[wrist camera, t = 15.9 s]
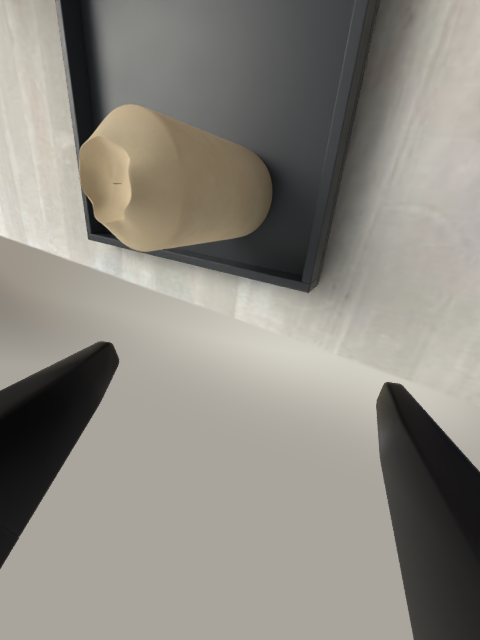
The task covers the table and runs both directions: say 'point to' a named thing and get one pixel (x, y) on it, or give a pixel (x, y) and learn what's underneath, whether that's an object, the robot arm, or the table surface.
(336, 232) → the table surface
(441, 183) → the table surface
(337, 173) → the tray
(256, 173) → the candle
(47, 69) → the table surface
